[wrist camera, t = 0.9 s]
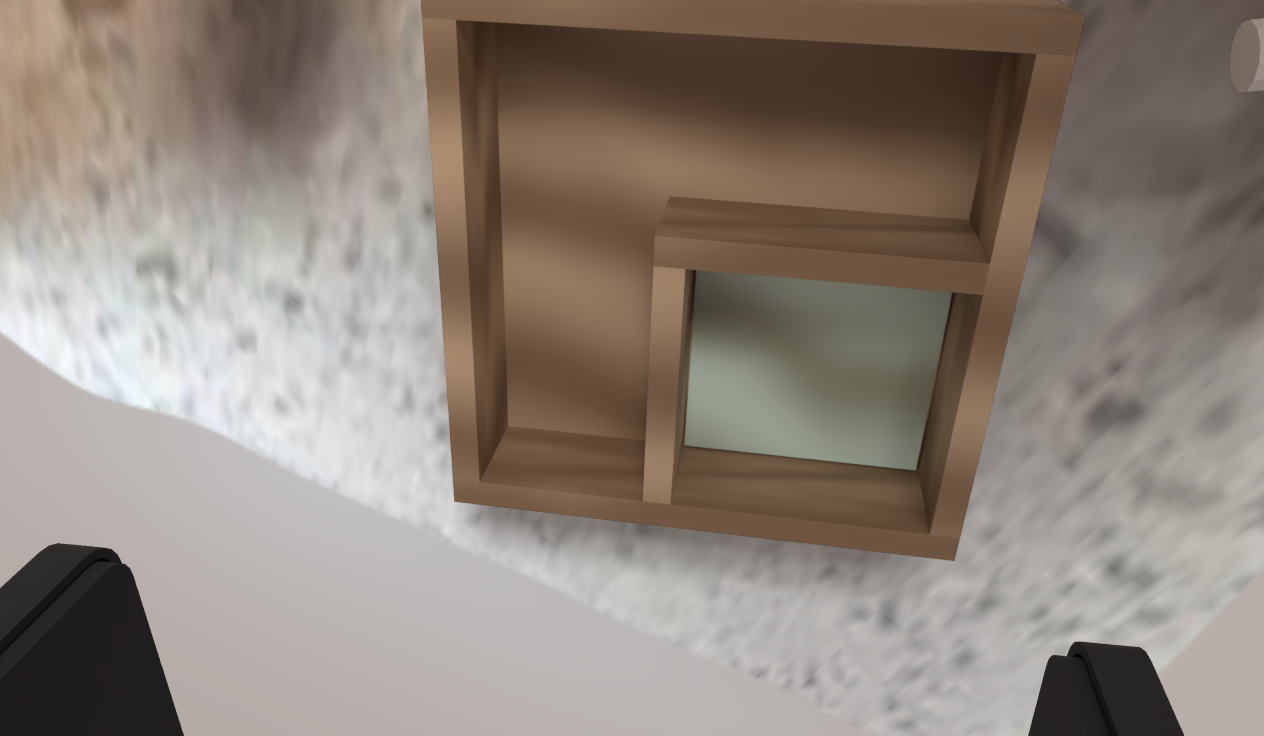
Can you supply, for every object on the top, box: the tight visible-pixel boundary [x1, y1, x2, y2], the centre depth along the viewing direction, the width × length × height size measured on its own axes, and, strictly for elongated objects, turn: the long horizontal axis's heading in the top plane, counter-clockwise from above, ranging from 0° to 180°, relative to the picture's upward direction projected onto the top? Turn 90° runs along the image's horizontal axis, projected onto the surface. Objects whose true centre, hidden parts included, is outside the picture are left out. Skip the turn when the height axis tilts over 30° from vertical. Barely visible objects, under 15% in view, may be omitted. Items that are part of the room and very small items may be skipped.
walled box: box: [421, 0, 1085, 561], centre depth 32 cm, size 18×18×5 cm
